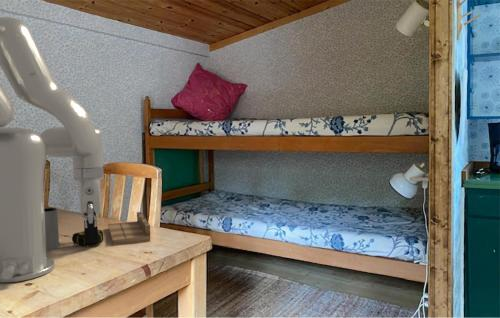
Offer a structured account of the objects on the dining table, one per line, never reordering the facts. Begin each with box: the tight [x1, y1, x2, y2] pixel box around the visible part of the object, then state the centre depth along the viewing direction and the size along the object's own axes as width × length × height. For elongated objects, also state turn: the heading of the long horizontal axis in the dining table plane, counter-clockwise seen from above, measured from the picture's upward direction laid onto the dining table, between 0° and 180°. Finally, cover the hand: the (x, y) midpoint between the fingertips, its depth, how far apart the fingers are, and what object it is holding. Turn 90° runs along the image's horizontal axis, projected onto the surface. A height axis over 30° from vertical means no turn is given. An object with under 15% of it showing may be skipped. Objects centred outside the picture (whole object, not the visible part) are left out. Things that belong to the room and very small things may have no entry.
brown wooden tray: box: [107, 211, 151, 246], centre depth 111 cm, size 19×10×4 cm, turn 24°
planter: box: [44, 207, 60, 251], centre depth 99 cm, size 4×4×10 cm
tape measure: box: [71, 229, 104, 247], centre depth 101 cm, size 7×7×4 cm
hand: (91, 237), depth 102 cm, fingers closed on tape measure, 7 cm apart
